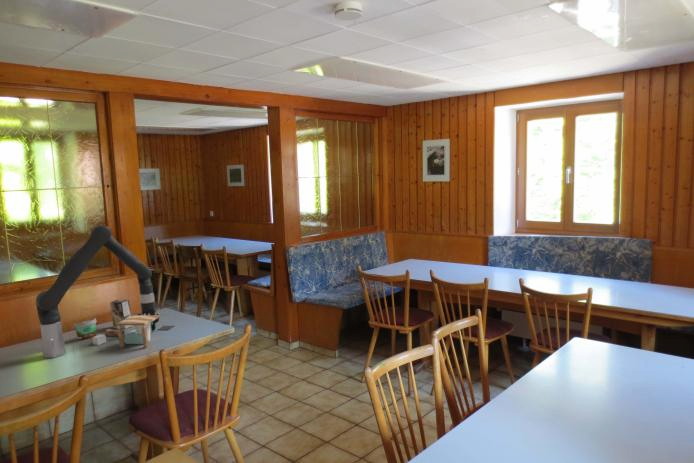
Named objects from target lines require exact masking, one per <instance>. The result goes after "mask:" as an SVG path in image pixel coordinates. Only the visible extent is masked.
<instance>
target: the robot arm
mask: <svg viewBox="0 0 694 463" xmlns="http://www.w3.org/2000/svg"><path fill="white" fill-rule="evenodd" d="M102 247H105V248H106V249H107V250H109V251H110V253H112V254H113V255H114V256H116V258H117V259H119V260H120V262H122V263H123V264H124V265H125V266H126V267H128V268H129V269H131V271H133V272H134V273H135V274H136V277H137V282H138V286H139V301H140V309H141V312H140V313H137V315H160V317H161V312H157V310H156V301H155V294H154V288H153V283H152V281H151V277H152V274H153V272H152V269H151V268H150V267H148V266H147V265H146V264H145V263H143V261H141V260H140V259H139V257H137V256H136V255H135V254H134V253H133V252H131V250H129V249H128V248H126V246H123V244H121V243H120V242H119V241H117V239H115V238H114V236H112V229H111V228H110V227H109V226H107V225H105V224H104V225H103V224H102V225H100V224H99V225H96V226H94V227H92V228H91V231H90V237H89V238H88V239H87V241H86V242H85V243H84V244H83V245H82V246H81V247H80V248H79V249H78V250H77V251H76V252H75V253H73V255H72V256H71V257H70V258H69V259H68V260H67V262H66V263H65V264H64V265H63V266H62V268H61V270H60V272H59V274H58V276H57V278H56V279H55V281H54V283H53V284H52V285H51V287H49V288H48V289H47V290H44V291H41V292H40V293H38V294H37V296H36V299H35V304H36V312H37V315H38V316H37V317H38V320H39V324H40V332H41V338H42V339H41V340H40V342H41V348H42V349H41V350H42V355H43V358H45V359H48V358H49V359H50V358H52V359H53V358H57V357H60V356H63V355H64V354H66V345H65V344H66V343H65V339H64V338H65V337H64V332H63V326H62V324H63V323H62V317H61V315H60V311H59V305H60V303H61V301H62V300H63V298H64V296H65V295H66V294H67V292H68V291H69V289H70V288H71V287H72V286H73V285H74V284H75V282H76V281H77V280H78V279H79V278H80V277H81V275H83V272H85V270H86V269H87V268H88V267H89V265H90V263H91V262H92V260H93V259H94V257H96V254H97V253H98V252H99V250H100V249H101V248H102ZM160 317H159V318H157V319H155V320H153V321H152V322H151V324H152V325H151V327H152V331H153V332H155V331H156V330H157V328H156V324H157V323H158V322H159V321H160ZM154 330H155V331H154Z"/></svg>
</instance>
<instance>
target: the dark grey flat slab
mask: <svg viewBox="0 0 694 463" xmlns="http://www.w3.org/2000/svg"><path fill="white" fill-rule="evenodd" d="M174 327H175V325H163V326H161V327H159V328H158V329H157V328H156V331H169V330H171V329H172V328H174Z"/></svg>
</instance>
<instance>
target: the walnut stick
mask: <svg viewBox="0 0 694 463" xmlns="http://www.w3.org/2000/svg"><path fill="white" fill-rule="evenodd" d="M122 330H123V337H125V334H126V333H125V330H124V329H122ZM104 335H106V336H112V337H115V336H116V337H119V336H118V329H111V328H107V329H105V330H104Z"/></svg>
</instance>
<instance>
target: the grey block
mask: <svg viewBox="0 0 694 463" xmlns="http://www.w3.org/2000/svg"><path fill="white" fill-rule="evenodd" d="M106 337H107V335H105V334H98V335H96V336H95V337H92V338H91V339H92V345H95V346H100V345H102V344H104V343H107V338H106Z"/></svg>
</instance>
